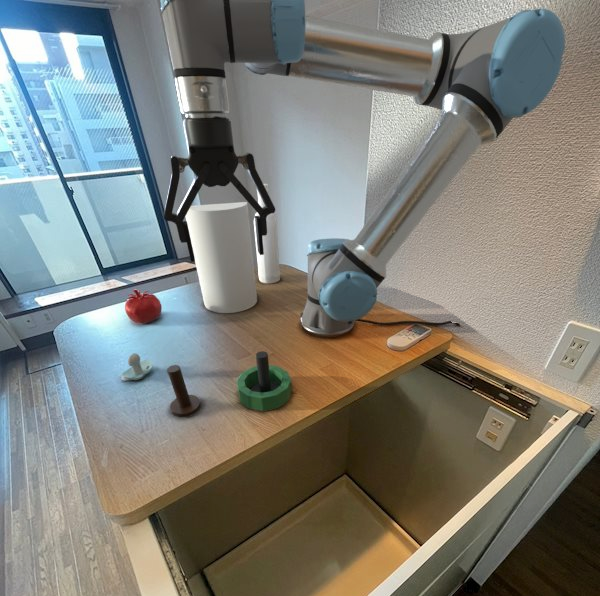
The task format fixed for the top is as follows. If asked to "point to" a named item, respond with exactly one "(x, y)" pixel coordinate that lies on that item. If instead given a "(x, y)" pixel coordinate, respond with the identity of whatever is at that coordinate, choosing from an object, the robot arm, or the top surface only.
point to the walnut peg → (181, 395)
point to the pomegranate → (143, 307)
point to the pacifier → (136, 368)
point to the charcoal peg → (263, 374)
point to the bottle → (268, 248)
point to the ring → (267, 398)
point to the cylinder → (223, 255)
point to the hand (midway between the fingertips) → (227, 256)
